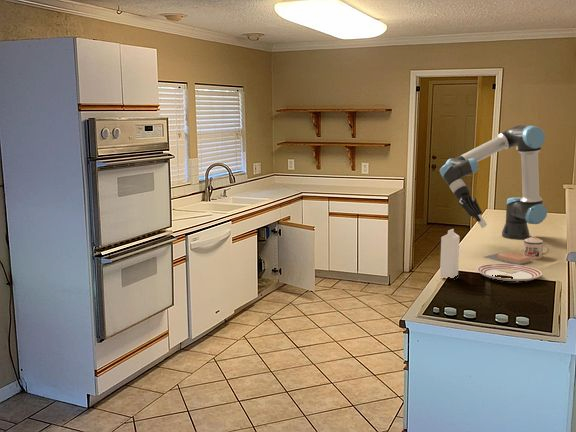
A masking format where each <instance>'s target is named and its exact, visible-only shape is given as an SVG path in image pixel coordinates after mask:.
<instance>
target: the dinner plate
mask: <svg viewBox="0 0 576 432" xmlns="http://www.w3.org/2000/svg"><path fill="white" fill-rule="evenodd" d="M503 270H511V271H515V272H511V273H510V272H507V271H503ZM476 271H477V272H478V273H479V274H480V275H482V276H484V277H487V278H489V279H491V278H492V279H491V280H494V279H497V280H503V281H516V282H515V283H520V282H519V281H525V282H529V281H533V280H536V279H538V278H540V277H541V276H542V275H543V273H542V270H539V269H537V268H534V267H531V266H526V265H523V264H522V265H515V264H509V263H489V264H488V263H487V264H486V263H485V264H483V265H482V264H481V265H479V266H477V267H476ZM499 274H508V275H510V276H512V277H513V279H511V278H501V277H495V275H496V276H497V275H499ZM492 275H493V276H492ZM497 280H496V281H497ZM503 281H502V282H503Z"/></svg>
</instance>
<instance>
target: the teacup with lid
mask: <svg viewBox="0 0 576 432" xmlns="http://www.w3.org/2000/svg"><path fill="white" fill-rule="evenodd" d="M543 247H545V248H546V249H547V251H546V252H545V253H543ZM549 251H550V247H549V245H546V244H544V241H543V240H542V239H540V238H538V237H537V235H531V236H529V238H527V239H523V254H522V255H525V256H529V257H530V260H531V259H532V260H539V259H542V258H543V256H545V255H547V254H549Z"/></svg>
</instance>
